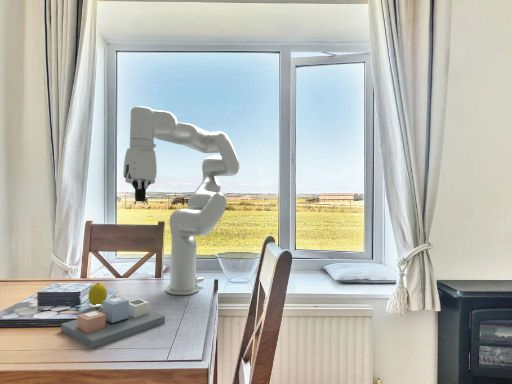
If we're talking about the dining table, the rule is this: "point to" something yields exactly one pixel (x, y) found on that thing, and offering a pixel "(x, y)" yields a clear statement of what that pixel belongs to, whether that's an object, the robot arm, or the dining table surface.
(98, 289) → the lemon
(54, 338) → the dining table surface
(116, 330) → the keypad board
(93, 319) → the key terracotta
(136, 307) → the key cream
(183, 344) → the dining table surface
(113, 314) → the key slate
